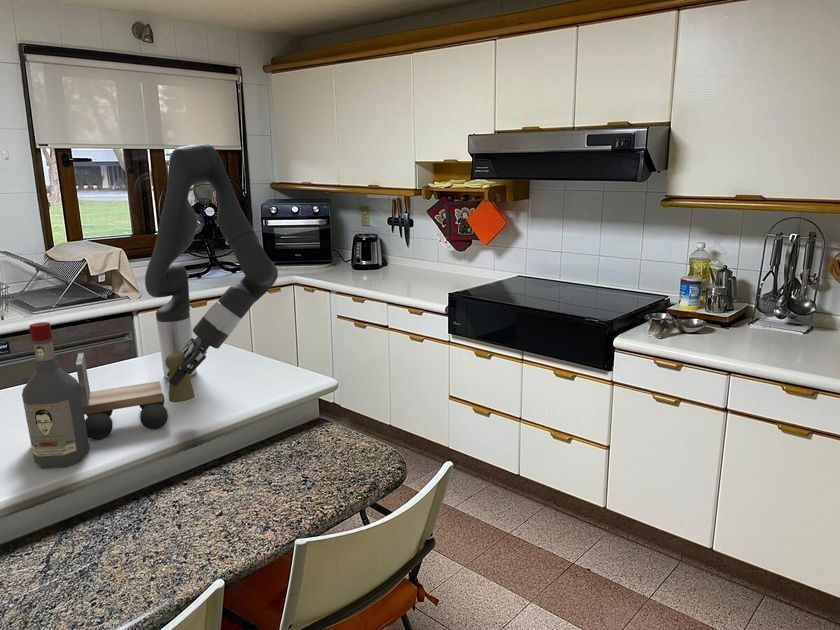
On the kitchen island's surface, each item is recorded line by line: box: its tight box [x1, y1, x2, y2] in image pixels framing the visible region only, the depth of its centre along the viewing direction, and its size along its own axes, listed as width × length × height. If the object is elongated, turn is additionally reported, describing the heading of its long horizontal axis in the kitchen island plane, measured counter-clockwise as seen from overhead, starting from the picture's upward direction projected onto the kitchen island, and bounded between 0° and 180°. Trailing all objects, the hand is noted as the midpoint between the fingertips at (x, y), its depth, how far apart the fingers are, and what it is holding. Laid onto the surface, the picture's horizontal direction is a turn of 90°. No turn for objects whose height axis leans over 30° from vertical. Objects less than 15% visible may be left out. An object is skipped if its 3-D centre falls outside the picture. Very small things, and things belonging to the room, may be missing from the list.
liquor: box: [21, 321, 91, 469], centre depth 135 cm, size 9×9×30 cm
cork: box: [165, 353, 196, 403], centre depth 153 cm, size 6×6×11 cm
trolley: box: [75, 352, 169, 441], centre depth 154 cm, size 14×18×18 cm
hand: (171, 380), depth 152 cm, fingers closed on cork, 4 cm apart
